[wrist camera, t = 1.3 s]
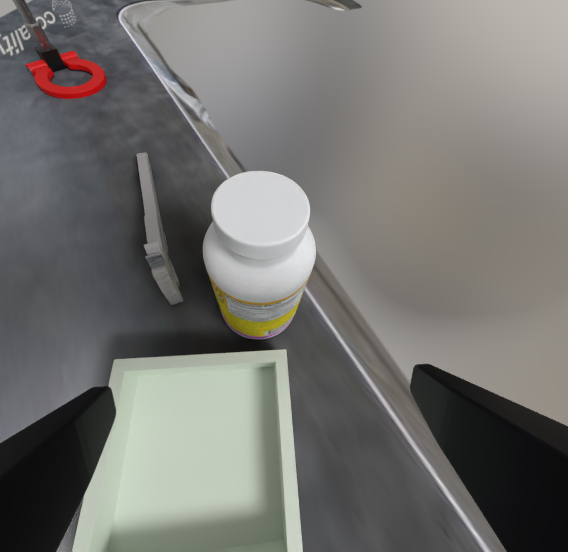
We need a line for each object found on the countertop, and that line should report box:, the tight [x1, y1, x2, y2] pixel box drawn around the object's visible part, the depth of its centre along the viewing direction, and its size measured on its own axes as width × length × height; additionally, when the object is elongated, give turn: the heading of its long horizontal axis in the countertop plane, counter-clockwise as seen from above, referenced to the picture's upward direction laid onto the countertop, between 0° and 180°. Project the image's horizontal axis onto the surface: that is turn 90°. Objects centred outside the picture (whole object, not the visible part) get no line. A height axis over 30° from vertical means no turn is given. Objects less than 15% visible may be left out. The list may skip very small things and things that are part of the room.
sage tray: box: [72, 349, 303, 552], centre depth 17 cm, size 12×12×3 cm
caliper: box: [137, 153, 183, 305], centre depth 24 cm, size 20×1×6 cm, turn 22°
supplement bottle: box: [203, 171, 316, 339], centre depth 18 cm, size 7×7×13 cm
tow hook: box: [13, 0, 107, 99], centre depth 31 cm, size 8×13×9 cm
